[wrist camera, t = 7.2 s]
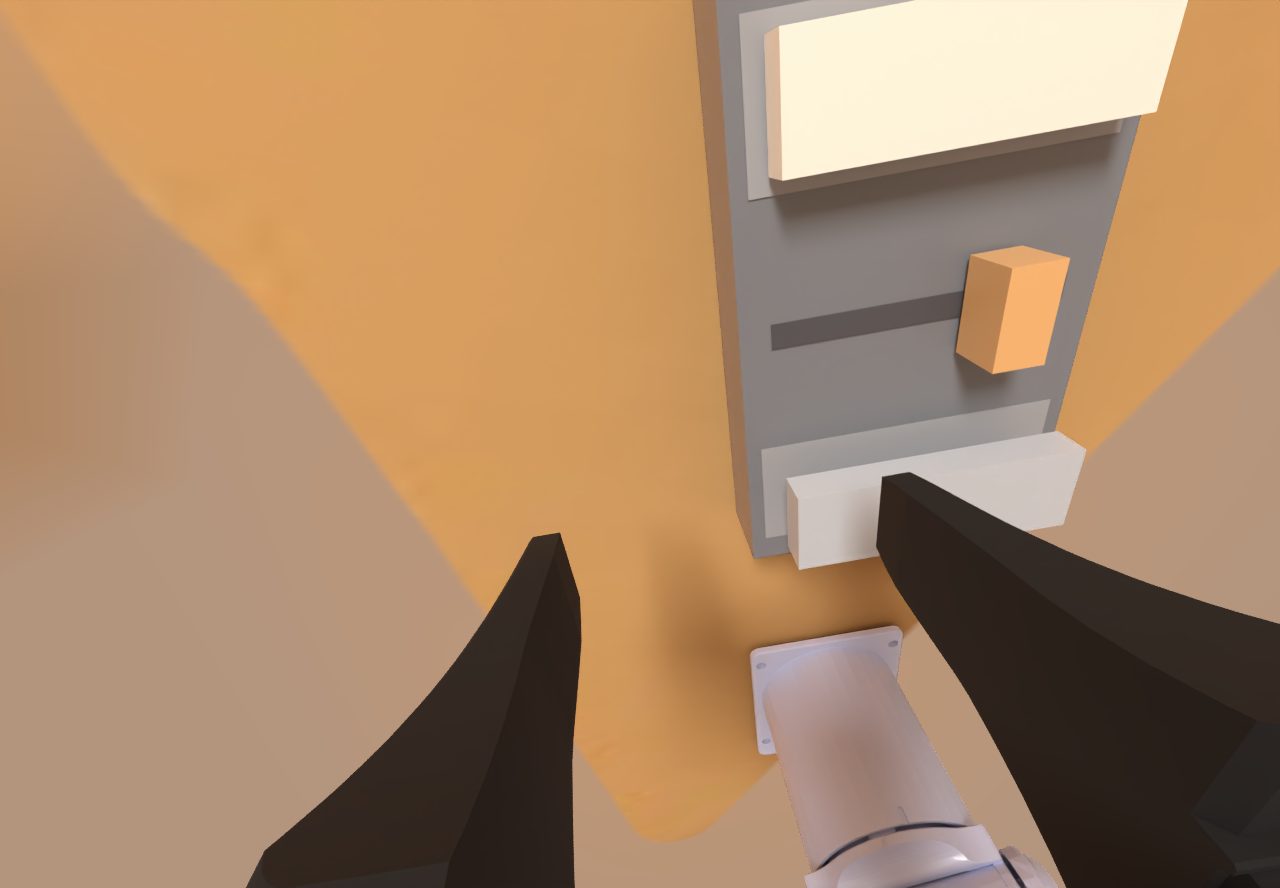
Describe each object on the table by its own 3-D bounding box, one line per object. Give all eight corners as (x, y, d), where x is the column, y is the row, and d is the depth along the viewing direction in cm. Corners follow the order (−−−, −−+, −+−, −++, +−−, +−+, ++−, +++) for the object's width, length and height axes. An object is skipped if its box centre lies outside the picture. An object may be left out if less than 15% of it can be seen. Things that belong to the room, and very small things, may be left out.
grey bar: (1037, 503, 19) (1063, 524, 18) (787, 546, 19) (798, 569, 18) (1057, 431, 18) (1086, 449, 16) (786, 478, 18) (798, 499, 17)
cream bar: (1113, 113, 14) (1156, 111, 13) (768, 177, 14) (782, 180, 13) (1151, -39, 12) (1203, -55, 11) (763, 35, 12) (779, 25, 11)
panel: (984, 469, 23) (1033, 511, 21) (736, 512, 24) (754, 559, 21) (1097, -85, 14) (1210, -135, 12) (691, -8, 14) (713, -39, 12)
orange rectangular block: (1002, 343, 17) (1044, 365, 15) (955, 351, 17) (992, 374, 15) (1022, 245, 15) (1070, 257, 14) (970, 254, 15) (1012, 268, 14)
